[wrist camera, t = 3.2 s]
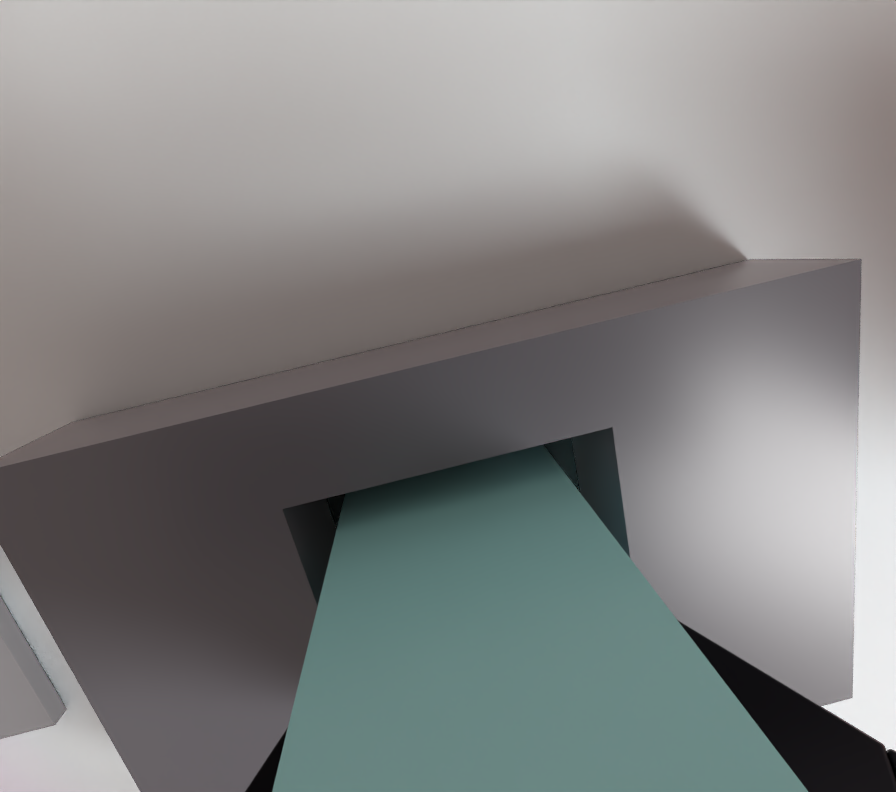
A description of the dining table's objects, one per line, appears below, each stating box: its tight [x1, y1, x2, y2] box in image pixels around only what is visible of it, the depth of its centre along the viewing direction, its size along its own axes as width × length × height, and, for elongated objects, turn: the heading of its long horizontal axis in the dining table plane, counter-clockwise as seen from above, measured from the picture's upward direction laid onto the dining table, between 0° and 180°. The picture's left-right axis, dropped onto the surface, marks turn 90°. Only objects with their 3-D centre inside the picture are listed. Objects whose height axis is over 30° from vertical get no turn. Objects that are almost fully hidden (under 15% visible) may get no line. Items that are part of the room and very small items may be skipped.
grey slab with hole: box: [0, 259, 861, 792], centre depth 10 cm, size 9×14×2 cm, turn 103°
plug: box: [272, 445, 808, 792], centre depth 7 cm, size 4×4×8 cm
